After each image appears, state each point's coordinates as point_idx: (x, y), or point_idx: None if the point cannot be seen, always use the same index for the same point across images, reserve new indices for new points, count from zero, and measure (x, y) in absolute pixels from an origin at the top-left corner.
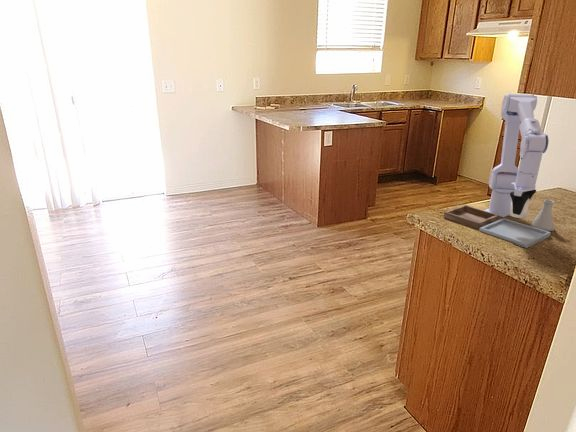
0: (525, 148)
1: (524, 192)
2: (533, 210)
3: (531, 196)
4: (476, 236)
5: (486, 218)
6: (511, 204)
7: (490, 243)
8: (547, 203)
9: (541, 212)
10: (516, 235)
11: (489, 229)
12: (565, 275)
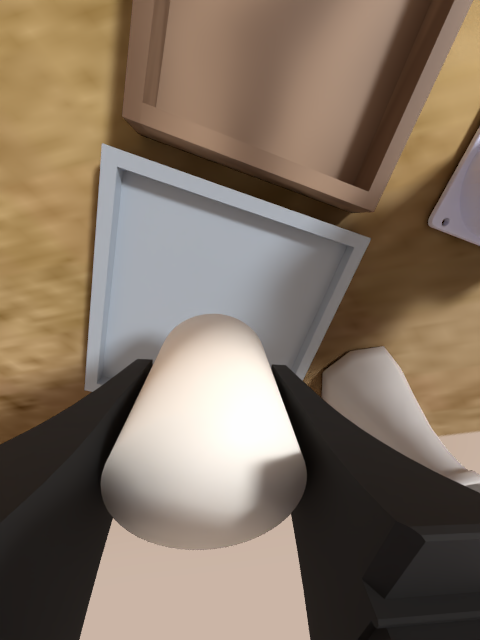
0: None
1: (335, 562)
2: None
3: (301, 563)
4: (32, 156)
5: (362, 137)
6: (176, 362)
7: (7, 250)
8: None
9: (395, 420)
10: None
11: (171, 202)
12: None
